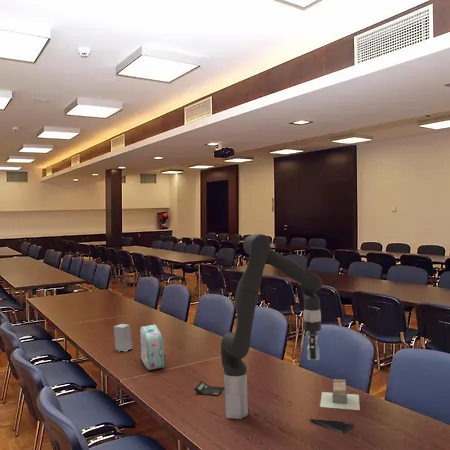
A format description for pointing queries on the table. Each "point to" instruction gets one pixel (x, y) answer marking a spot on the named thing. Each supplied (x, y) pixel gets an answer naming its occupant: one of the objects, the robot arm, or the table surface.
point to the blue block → (316, 352)
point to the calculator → (208, 389)
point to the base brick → (339, 398)
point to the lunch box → (152, 347)
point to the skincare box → (122, 337)
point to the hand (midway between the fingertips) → (313, 356)
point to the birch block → (339, 387)
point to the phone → (333, 425)
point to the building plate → (351, 403)
